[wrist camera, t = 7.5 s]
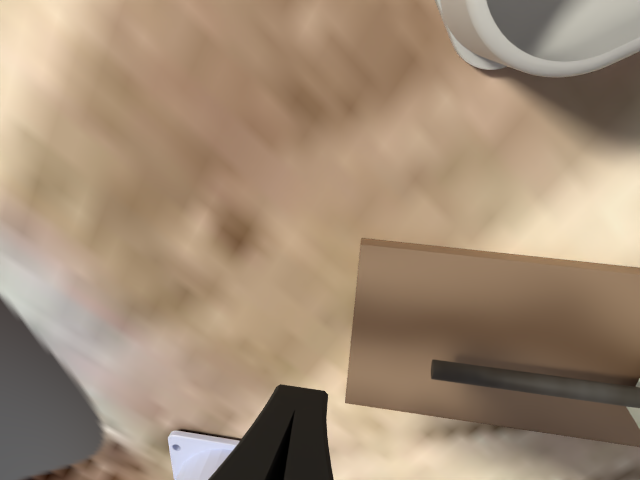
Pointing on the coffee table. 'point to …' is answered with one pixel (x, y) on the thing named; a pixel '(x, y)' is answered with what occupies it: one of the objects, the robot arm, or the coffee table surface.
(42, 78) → the coffee table surface
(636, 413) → the sleeve
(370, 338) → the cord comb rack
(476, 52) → the phone holder
